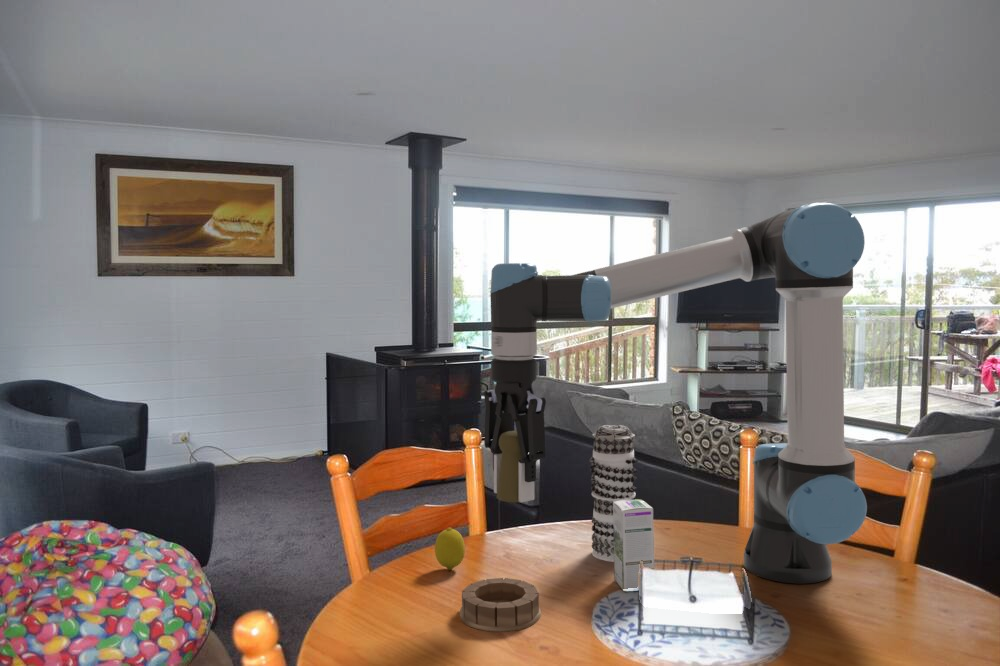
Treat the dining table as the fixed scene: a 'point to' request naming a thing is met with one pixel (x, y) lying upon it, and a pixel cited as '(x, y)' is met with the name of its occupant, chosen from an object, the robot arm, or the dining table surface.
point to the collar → (500, 605)
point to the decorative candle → (610, 483)
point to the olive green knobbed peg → (509, 467)
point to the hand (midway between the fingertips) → (513, 495)
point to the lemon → (449, 548)
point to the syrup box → (632, 540)
